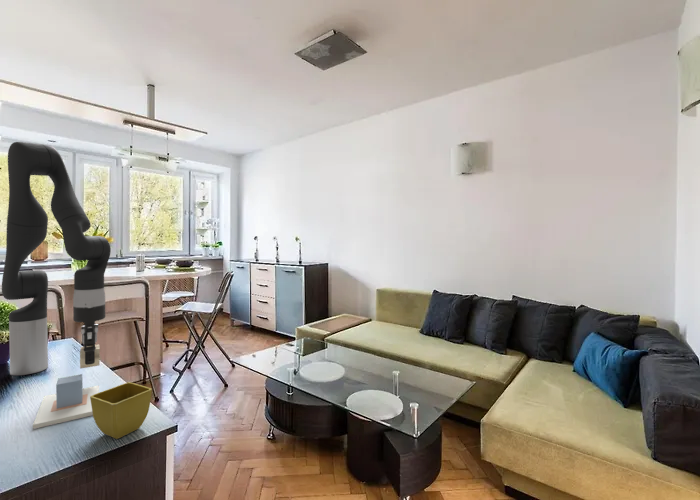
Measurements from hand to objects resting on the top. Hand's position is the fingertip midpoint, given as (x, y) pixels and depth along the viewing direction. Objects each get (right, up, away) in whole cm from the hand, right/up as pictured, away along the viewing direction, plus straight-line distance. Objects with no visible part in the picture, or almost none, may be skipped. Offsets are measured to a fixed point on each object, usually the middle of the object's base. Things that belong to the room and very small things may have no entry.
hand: (90, 360), depth 101 cm
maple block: (0, -1, 0) cm, 1 cm away
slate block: (+4, -7, -12) cm, 15 cm away
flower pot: (+26, -8, -24) cm, 36 cm away
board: (+4, -8, -12) cm, 15 cm away
